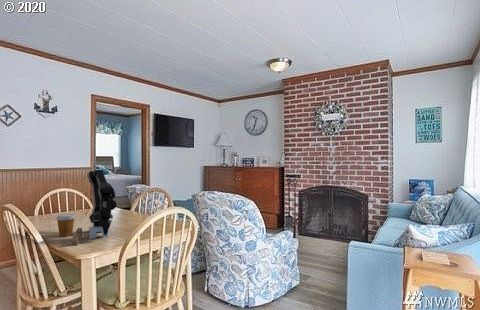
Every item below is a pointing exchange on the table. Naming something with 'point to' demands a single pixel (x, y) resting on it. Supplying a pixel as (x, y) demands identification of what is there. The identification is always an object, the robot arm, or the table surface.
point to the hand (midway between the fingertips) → (105, 234)
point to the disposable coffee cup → (65, 224)
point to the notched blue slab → (96, 229)
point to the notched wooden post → (77, 236)
